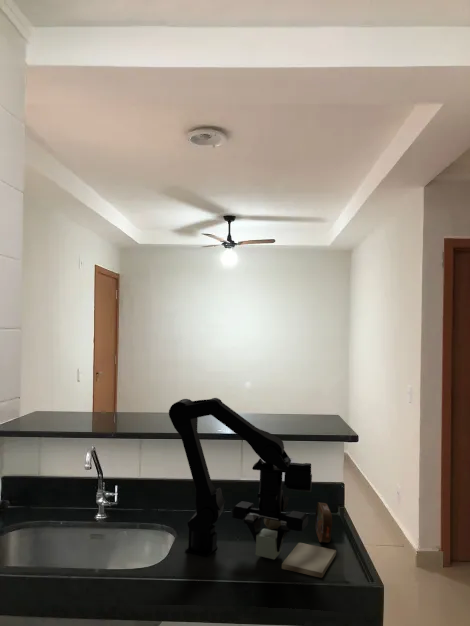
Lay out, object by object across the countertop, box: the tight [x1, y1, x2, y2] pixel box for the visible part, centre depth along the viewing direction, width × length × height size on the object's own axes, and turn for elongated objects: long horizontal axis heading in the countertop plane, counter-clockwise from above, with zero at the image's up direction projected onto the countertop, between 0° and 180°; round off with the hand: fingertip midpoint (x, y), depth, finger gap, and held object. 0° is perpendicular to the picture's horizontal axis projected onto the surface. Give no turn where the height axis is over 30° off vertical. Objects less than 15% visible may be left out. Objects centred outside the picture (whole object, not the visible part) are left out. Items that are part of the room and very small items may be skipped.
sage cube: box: [255, 528, 282, 560], centre depth 136 cm, size 5×5×5 cm
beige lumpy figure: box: [263, 518, 281, 530], centre depth 156 cm, size 9×6×10 cm
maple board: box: [281, 542, 337, 579], centre depth 135 cm, size 10×14×1 cm
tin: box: [314, 501, 333, 544], centre depth 151 cm, size 15×3×8 cm, turn 178°
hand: (268, 549), depth 136 cm, fingers closed on sage cube, 5 cm apart
